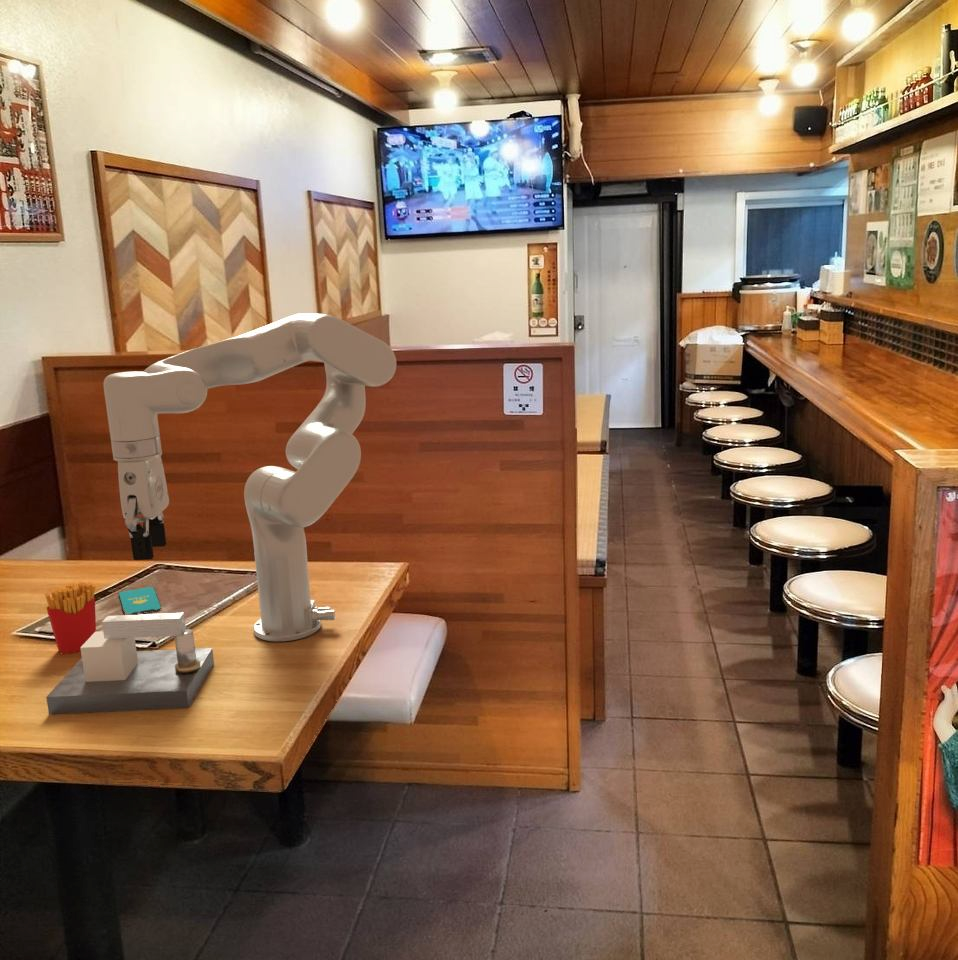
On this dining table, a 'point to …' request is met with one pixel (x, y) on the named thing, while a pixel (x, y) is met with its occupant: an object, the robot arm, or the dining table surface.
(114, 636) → the white bent handle
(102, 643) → the cover cap
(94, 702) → the base plate
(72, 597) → the french fries
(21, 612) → the dining table surface
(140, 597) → the smartphone
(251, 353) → the robot arm
